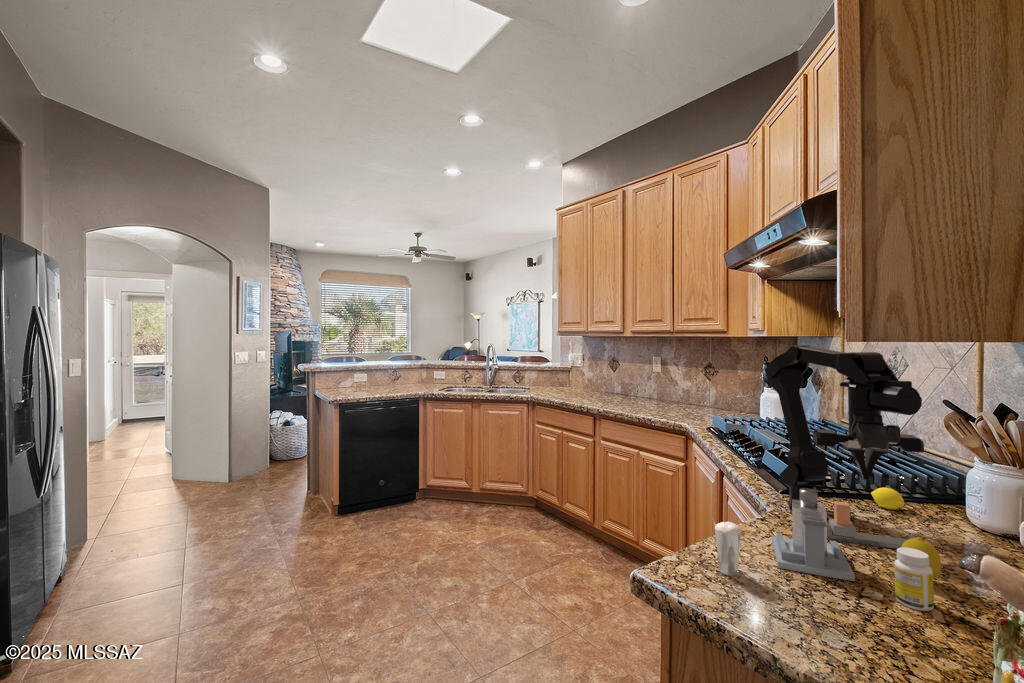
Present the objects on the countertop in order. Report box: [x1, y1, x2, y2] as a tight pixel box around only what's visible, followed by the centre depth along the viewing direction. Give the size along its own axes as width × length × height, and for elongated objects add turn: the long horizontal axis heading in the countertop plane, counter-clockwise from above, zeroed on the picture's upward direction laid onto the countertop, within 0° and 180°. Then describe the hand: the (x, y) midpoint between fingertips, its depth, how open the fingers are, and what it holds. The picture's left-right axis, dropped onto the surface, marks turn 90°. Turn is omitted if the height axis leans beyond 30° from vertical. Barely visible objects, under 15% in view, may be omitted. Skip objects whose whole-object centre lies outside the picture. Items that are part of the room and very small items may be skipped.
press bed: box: [771, 515, 856, 582], centre depth 90 cm, size 13×12×10 cm
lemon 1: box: [870, 487, 905, 511], centre depth 118 cm, size 7×5×5 cm
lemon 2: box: [901, 536, 942, 580], centre depth 81 cm, size 6×6×8 cm
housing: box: [791, 488, 828, 557], centre depth 90 cm, size 6×6×12 cm
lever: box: [828, 500, 857, 538], centre depth 100 cm, size 4×4×6 cm
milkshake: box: [710, 514, 742, 577], centre depth 86 cm, size 4×5×10 cm
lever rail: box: [827, 523, 916, 550], centre depth 98 cm, size 4×16×2 cm, turn 64°
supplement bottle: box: [893, 547, 935, 612], centre depth 74 cm, size 5×5×8 cm
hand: (865, 479), depth 100 cm, fingers closed
